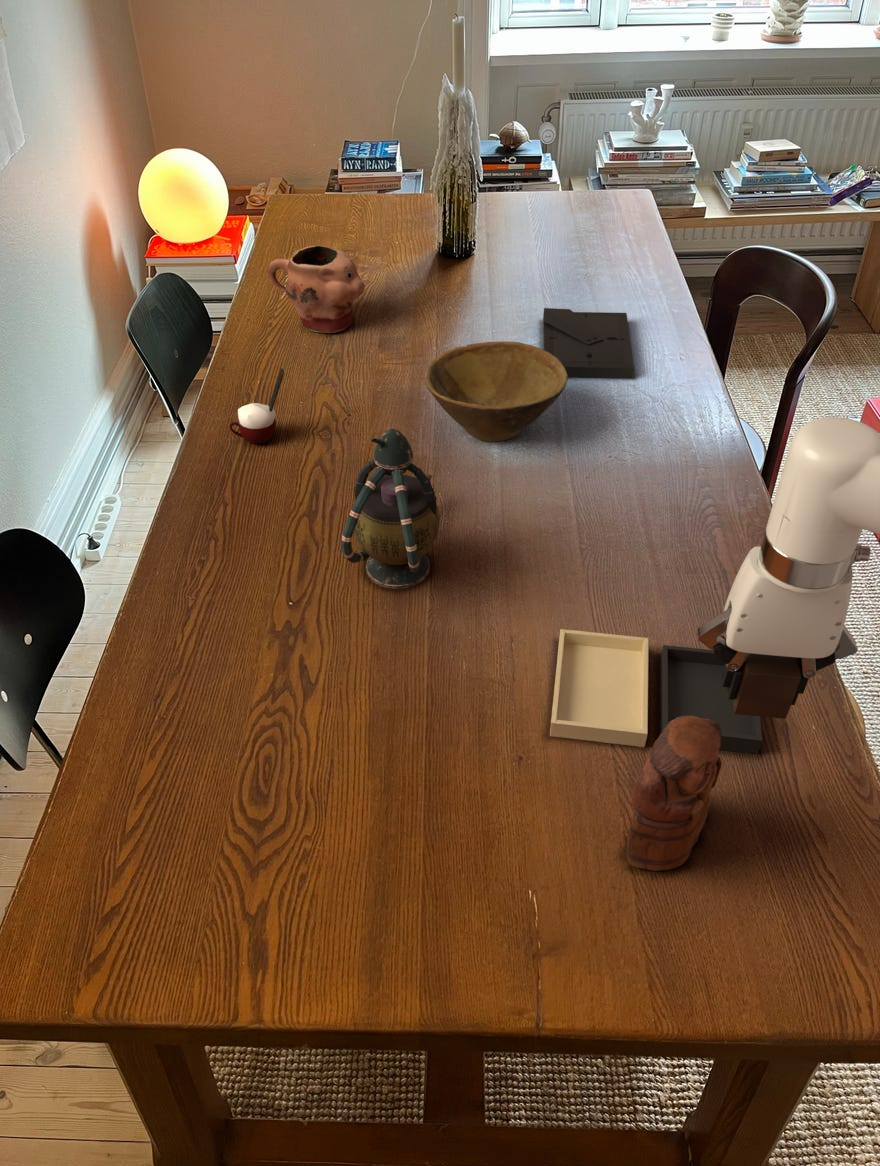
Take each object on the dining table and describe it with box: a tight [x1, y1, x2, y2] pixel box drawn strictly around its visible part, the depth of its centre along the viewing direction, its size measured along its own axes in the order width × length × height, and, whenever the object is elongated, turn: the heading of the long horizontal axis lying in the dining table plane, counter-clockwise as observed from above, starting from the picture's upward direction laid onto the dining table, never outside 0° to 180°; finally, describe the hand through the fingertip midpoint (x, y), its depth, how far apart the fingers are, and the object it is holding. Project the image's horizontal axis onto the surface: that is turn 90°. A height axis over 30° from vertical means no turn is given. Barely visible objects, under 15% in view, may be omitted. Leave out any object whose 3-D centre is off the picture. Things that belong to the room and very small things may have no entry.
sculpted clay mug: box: [267, 245, 366, 334], centre depth 192 cm, size 20×12×14 cm, turn 73°
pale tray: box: [549, 628, 649, 748], centre depth 124 cm, size 11×16×2 cm
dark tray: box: [659, 644, 763, 755], centre depth 122 cm, size 11×14×2 cm
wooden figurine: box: [626, 716, 723, 872], centre depth 103 cm, size 12×6×18 cm, turn 144°
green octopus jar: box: [340, 427, 441, 590], centre depth 138 cm, size 12×25×23 cm, turn 165°
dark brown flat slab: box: [542, 307, 635, 379], centre depth 185 cm, size 16×3×21 cm
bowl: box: [424, 340, 569, 443], centre depth 165 cm, size 22×23×10 cm
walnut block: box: [733, 653, 801, 720], centre depth 100 cm, size 5×5×6 cm
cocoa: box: [229, 368, 285, 445], centre depth 164 cm, size 10×6×12 cm, turn 78°
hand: (759, 690), depth 101 cm, fingers closed on walnut block, 5 cm apart
